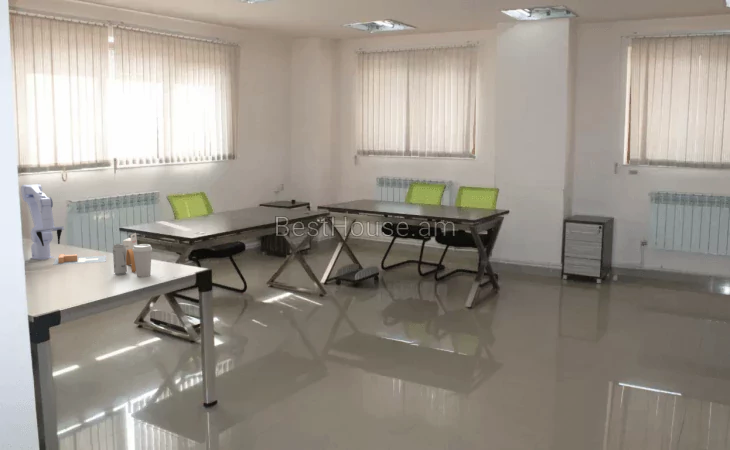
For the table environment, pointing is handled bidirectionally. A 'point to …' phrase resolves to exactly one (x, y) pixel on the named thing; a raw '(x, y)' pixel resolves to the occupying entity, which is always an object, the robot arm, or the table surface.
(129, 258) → the arch
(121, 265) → the energy drink can
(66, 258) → the t block
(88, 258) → the board
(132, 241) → the ink cartridge box
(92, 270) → the table surface
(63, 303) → the table surface
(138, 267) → the coffee cup
